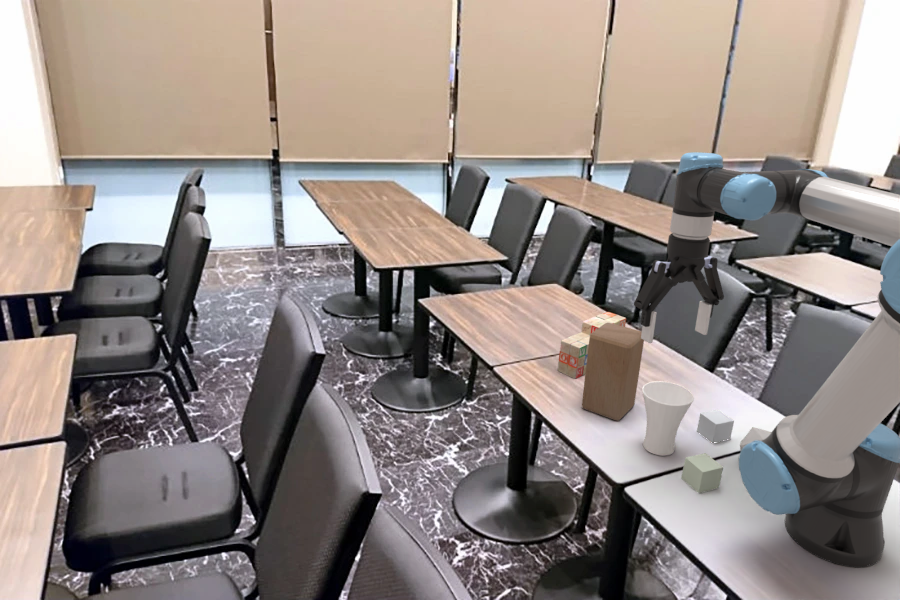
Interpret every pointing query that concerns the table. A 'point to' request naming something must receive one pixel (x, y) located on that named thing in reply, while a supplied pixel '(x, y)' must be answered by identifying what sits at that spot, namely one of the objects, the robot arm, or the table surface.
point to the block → (612, 370)
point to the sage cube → (702, 473)
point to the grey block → (754, 436)
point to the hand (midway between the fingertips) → (674, 336)
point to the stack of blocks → (582, 344)
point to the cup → (664, 414)
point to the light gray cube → (715, 426)
